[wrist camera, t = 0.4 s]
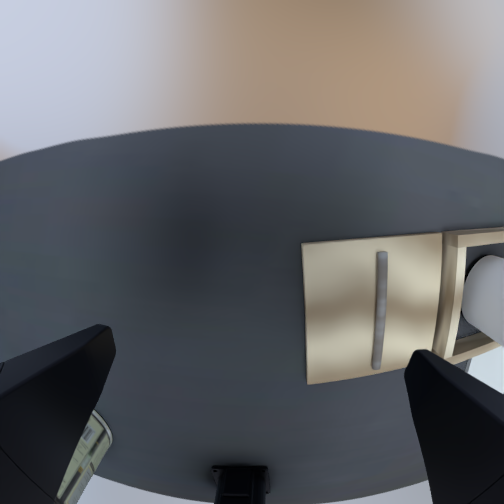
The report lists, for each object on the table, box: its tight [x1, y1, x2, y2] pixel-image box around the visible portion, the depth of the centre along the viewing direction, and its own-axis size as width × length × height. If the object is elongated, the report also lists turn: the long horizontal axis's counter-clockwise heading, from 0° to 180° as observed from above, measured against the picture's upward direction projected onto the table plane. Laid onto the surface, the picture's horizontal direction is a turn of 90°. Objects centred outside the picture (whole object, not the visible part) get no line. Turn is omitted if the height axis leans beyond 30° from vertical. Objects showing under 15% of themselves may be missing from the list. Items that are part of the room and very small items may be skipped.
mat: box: [465, 346, 504, 394], centre depth 22 cm, size 10×10×1 cm
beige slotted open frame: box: [301, 227, 504, 385], centre depth 20 cm, size 12×24×2 cm, turn 95°
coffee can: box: [54, 410, 113, 504], centre depth 19 cm, size 10×10×14 cm
